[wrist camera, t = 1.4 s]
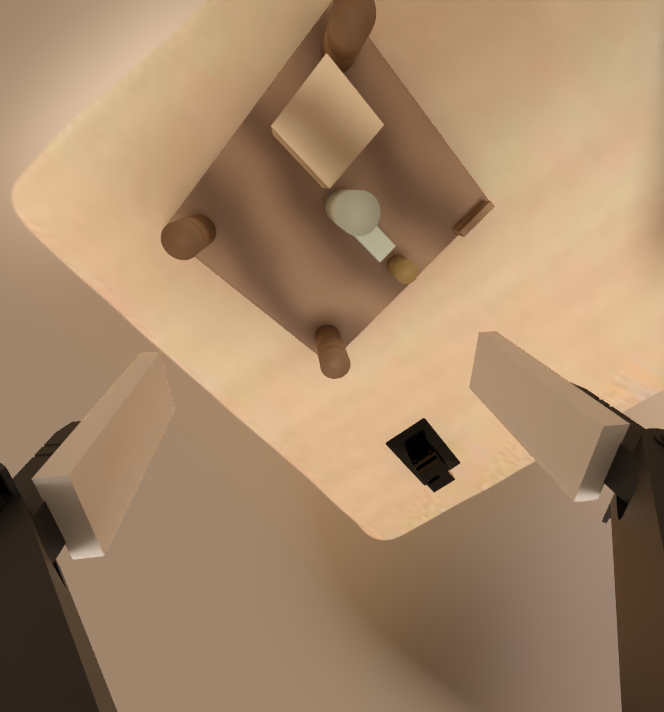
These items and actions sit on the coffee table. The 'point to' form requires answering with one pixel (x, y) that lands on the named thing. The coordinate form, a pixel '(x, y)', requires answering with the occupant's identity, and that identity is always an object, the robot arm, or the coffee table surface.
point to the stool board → (307, 201)
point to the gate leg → (359, 219)
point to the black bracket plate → (425, 454)
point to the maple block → (326, 124)
